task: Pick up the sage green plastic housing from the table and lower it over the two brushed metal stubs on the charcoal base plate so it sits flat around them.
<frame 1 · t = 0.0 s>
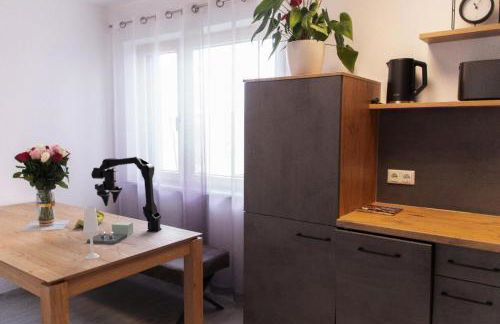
hand: (110, 204, 235), 15 cm above the table, tool pointing down, fingers open, 9 cm apart
champagne flute: (92, 257, 185), on the table
plastic component: (91, 225, 245), on the table
housing: (122, 233, 224), on the table
base plate: (107, 239, 212), on the table
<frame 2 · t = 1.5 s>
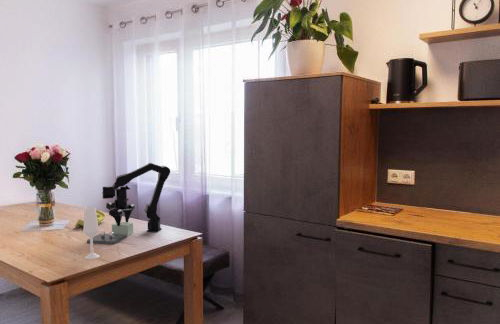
hand: (122, 224, 224), 6 cm above the table, tool pointing down, fingers open, 9 cm apart
nothing on the table moved.
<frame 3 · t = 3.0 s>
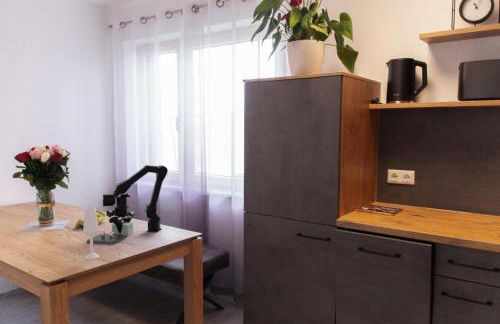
hand: (122, 231, 224), 1 cm above the table, tool pointing down, fingers closed on housing, 6 cm apart
housing: (122, 233, 224), on the table, touching gripper
everything else where it was.
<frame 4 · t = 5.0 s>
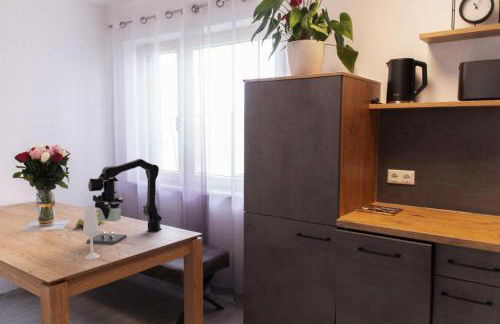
hand: (109, 217, 214), 12 cm above the table, tool pointing down, fingers closed on housing, 6 cm apart
housing: (109, 219, 214), point 11 cm above the table, touching gripper
everything else where it was.
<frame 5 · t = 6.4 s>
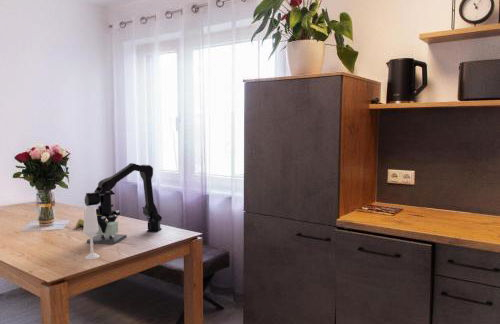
hand: (107, 231, 212), 5 cm above the table, tool pointing down, fingers closed on housing, 6 cm apart
housing: (107, 233, 212), point 4 cm above the table, touching gripper
when the fingers open (4 cm above the table, at t = 7.5 s): housing stays where it is, resting on base plate.
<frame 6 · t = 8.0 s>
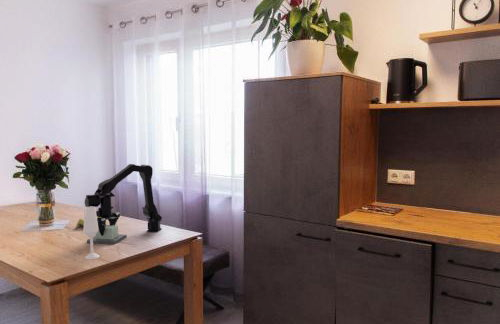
hand: (107, 233, 212), 4 cm above the table, tool pointing down, fingers open, 9 cm apart
housing: (107, 237, 212), point 1 cm above the table, touching base plate
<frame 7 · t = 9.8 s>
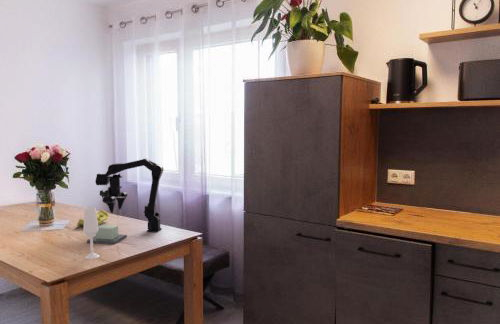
hand: (115, 211, 229), 12 cm above the table, tool pointing down, fingers open, 9 cm apart
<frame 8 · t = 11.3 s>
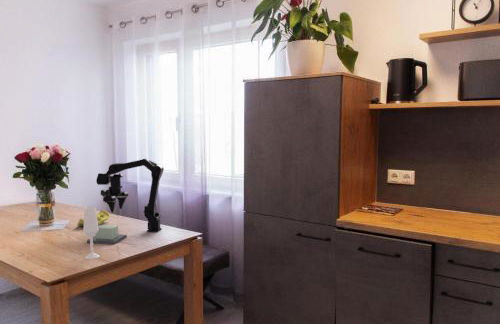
hand: (116, 210, 230), 12 cm above the table, tool pointing down, fingers open, 9 cm apart
at the end: housing 0.1 cm off-centre on the base plate, point 1.5 cm above the base plate's base; housing tilted 0°; the gripper is holding nothing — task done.
